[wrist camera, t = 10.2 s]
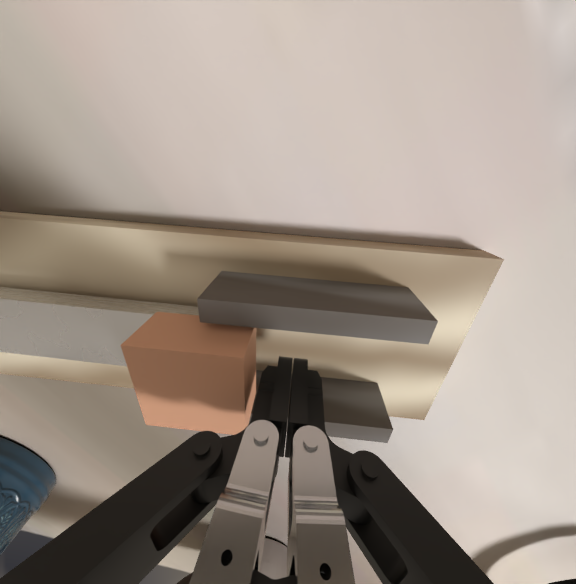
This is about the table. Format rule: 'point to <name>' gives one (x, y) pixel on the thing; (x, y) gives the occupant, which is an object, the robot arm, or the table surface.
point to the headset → (565, 582)
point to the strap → (73, 324)
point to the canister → (20, 488)
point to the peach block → (193, 373)
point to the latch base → (270, 303)
